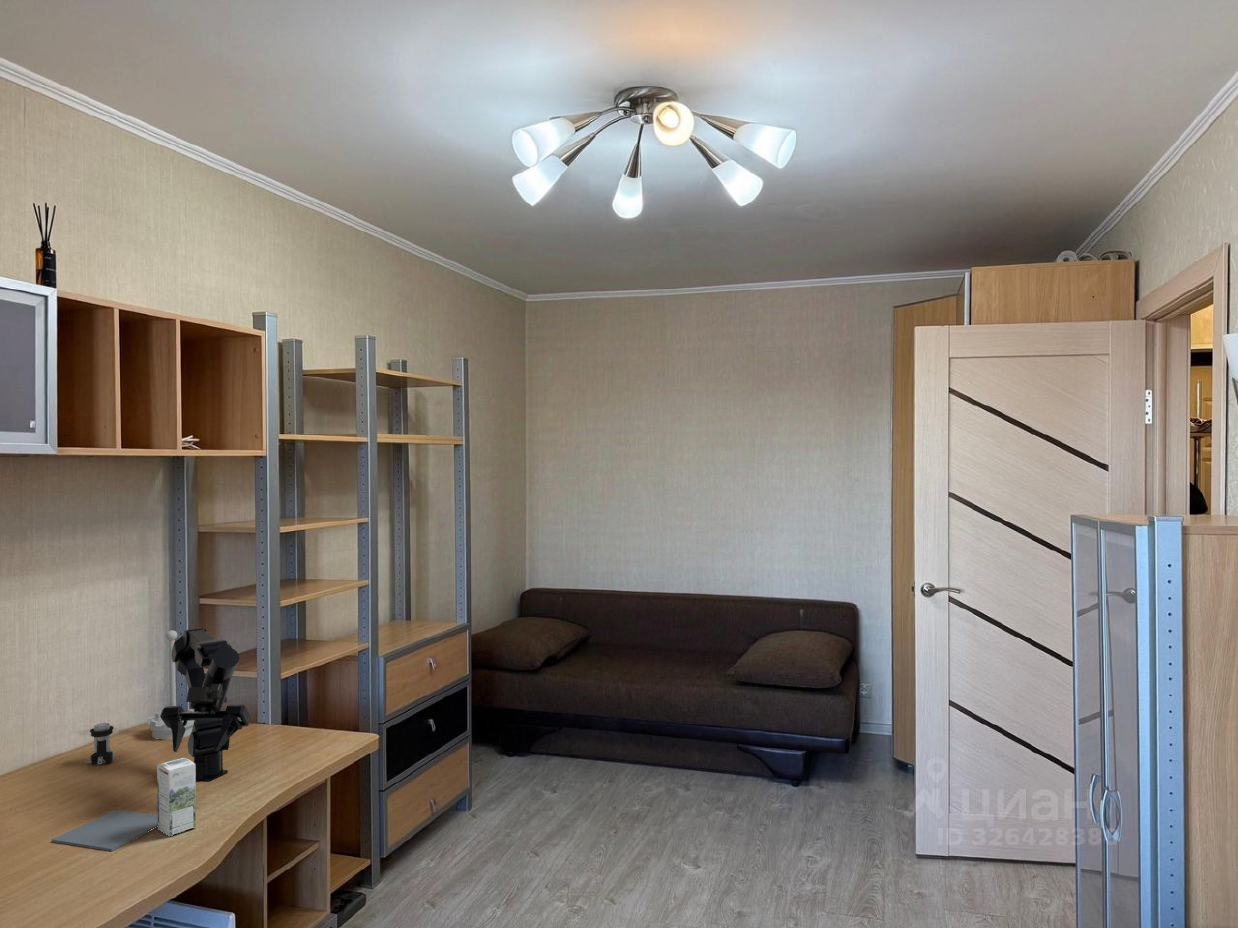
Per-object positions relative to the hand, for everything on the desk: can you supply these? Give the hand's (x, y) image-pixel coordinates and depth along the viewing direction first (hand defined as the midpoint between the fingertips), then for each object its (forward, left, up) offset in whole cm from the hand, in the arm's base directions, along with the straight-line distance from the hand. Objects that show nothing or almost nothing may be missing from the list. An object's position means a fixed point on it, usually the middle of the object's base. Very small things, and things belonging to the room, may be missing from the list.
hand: (195, 750), depth 200 cm
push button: (-19, -48, -14) cm, 54 cm away
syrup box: (+9, +4, -14) cm, 17 cm away
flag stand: (-44, -48, -14) cm, 67 cm away
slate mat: (+13, -9, -14) cm, 21 cm away
